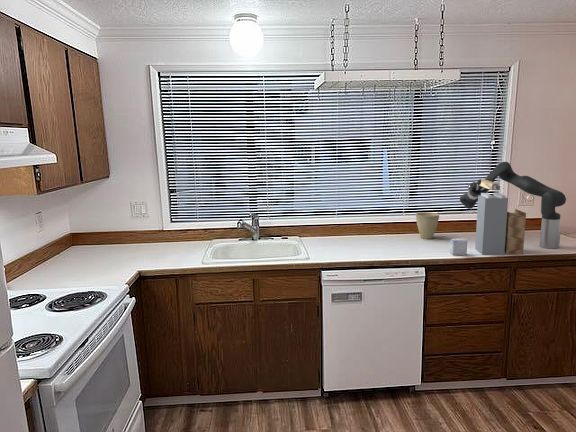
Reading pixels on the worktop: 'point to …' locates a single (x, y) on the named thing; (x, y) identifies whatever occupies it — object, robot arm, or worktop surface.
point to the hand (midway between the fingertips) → (484, 180)
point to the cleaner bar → (489, 185)
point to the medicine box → (458, 247)
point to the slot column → (491, 223)
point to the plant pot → (427, 224)
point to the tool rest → (515, 232)
